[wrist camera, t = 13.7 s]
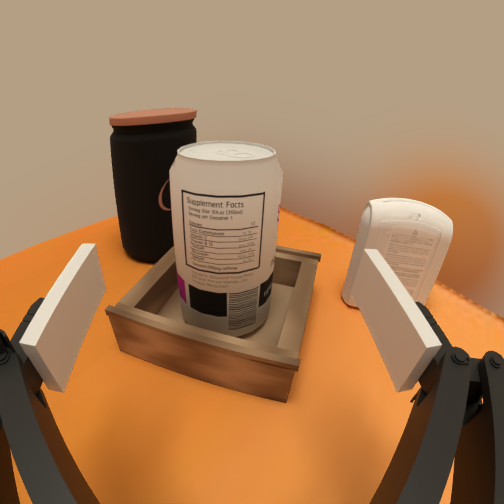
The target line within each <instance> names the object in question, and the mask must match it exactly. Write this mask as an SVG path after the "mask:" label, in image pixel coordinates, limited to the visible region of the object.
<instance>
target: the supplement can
mask: <svg viewBox="0 0 504 504" xmlns="http://www.w3.org/2000/svg"><path fill="white" fill-rule="evenodd" d="M275 154H276V153H275V150H274V149H272V148H270V147H268V146H265V145H261V144H256V143H250V142H240V141H208V142H199V143H193V144H189V145H186V146H183V147H181V148H179V149H178V150H177V156H176V158H175V160H174V162H173V164H172V166H171V168H170V170H169V174H170V194H171V210H172V225H173V237H174V249H175V259H176V269H177V279H178V288H179V296H180V305H181V311H182V316H183V318H184V319H185V320H186V322H187V323H188V324H189V325H192V326H195V327H199V328H203V329H206V330H210V331H213V332H217V333H221V334H225V335H229V336H232V337H238V336H241V335H244V334H247V333H250V332H252V331H254V330H255V329H256V328H258V327H259V326H260V325H262V324H263V323H264V321H265V319H266V318H267V316H268V314H269V307H270V298H271V289H272V280H273V271H274V261H275V252H276V242H277V232H278V222H279V212H280V201H281V190H282V179H283V174H282V169H281V167H280V165H279V163H278V160H277V158H276V156H275Z"/></svg>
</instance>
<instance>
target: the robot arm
mask: <svg viewBox="0 0 504 504" xmlns="http://www.w3.org/2000/svg"><path fill="white" fill-rule="evenodd" d="M105 291H106V286H105V283H104V279H103V274H102V270H101V266H100V262H99V257H98V253H97V248H96V244H82V245H81V246H80V248H79V249H78V250H77V252H76V253H75V254H74V256H73V257H72V259H71V260H70V261H69V263H68V264H67V266H66V267H65V269H64V270H63V272H62V273H61V275H60V276H59V277H58V279H57V280H56V282H55V284H54V285H53V287H52V288H51V290H50V291H49V293H48V294H47V296H46V298H39V299H38V300H37V301H36V302H35V303H33V304H32V305H31V307H30V309H29V310H28V312H27V315H25V317H24V318H23V322H21V323H20V325H19V327H18V328H17V330H16V332H15V334H14V335H13V337H12V339H11V341H10V340H9V338H8V337H7V335H6V333H5V332H4V331H3V330H1V329H0V504H20V501H19V497H18V493H17V488H16V483H15V478H14V472H13V466H12V459H11V452H12V455H13V457H14V460H15V463H16V465H17V468H18V471H19V473H20V476H21V478H22V480H23V483H24V485H25V487H26V490H27V492H28V494H29V496H30V498H31V500H32V502H33V504H100V503H99V501H98V500H97V498H96V497H95V495H94V494H93V492H92V490H91V489H90V487H89V486H88V484H87V482H86V481H85V479H84V477H83V476H82V474H81V472H80V470H79V469H78V467H77V465H76V463H75V461H74V459H73V457H72V456H71V454H70V452H69V450H68V448H67V446H66V444H65V442H64V440H63V438H62V436H61V433H60V431H59V429H58V427H57V425H56V422H55V420H54V418H53V415H52V413H51V411H50V408H49V406H48V403H47V401H46V398H45V396H44V393H43V391H42V390H41V388H40V387H41V384H42V382H44V383H45V384H46V386H47V387H48V389H50V390H54V391H58V392H63V393H64V392H65V389H66V386H67V383H68V380H69V377H70V374H71V372H72V369H73V366H74V364H75V361H76V358H77V356H78V353H79V351H80V348H81V346H82V343H83V341H84V338H85V336H86V334H87V331H88V329H89V326H90V324H91V322H92V319H93V317H94V315H95V313H96V310H97V308H98V306H99V304H100V301H101V299H102V297H103V295H104V293H105ZM351 293H352V295H353V297H354V299H355V302H356V304H357V306H358V308H359V310H360V312H361V314H362V316H363V318H364V320H365V322H366V324H367V326H368V328H369V330H370V333H371V335H372V337H373V339H374V341H375V343H376V346H377V348H378V350H379V352H380V354H381V357H382V359H383V361H384V363H385V365H386V368H387V370H388V372H389V375H390V377H391V379H392V382H393V384H394V386H395V389H396V391H397V392H402V391H406V390H411V389H412V388H413V387H414V386H415V384H416V383H417V381H419V383H420V385H421V388H420V389H419V390H418V392H417V393H416V394H415V395H414V397H413V398H412V399H411V401H410V402H413V401H414V400H415V402H414V405H413V408H412V411H411V413H410V416H409V419H408V422H407V424H406V427H405V429H404V432H403V434H402V437H401V439H400V442H399V444H398V447H397V449H396V451H395V453H394V456H393V458H392V460H391V462H390V465H389V467H388V469H387V471H386V473H385V475H384V477H383V479H382V481H381V483H380V485H379V487H378V489H377V491H376V493H375V495H374V496H373V498H372V500H371V502H370V504H439V502H440V500H441V497H442V494H443V491H444V489H445V486H446V483H447V480H448V477H449V474H450V470H451V467H452V464H453V460H454V474H453V485H452V494H451V502H450V504H504V359H503V357H502V356H501V355H500V354H499V353H497V352H494V351H488V352H486V353H485V355H484V356H483V358H482V359H476V358H470V356H469V355H468V354H467V353H466V352H465V351H464V350H463V349H461V348H458V347H452V345H451V344H450V342H449V341H448V339H447V337H446V336H445V334H444V333H443V331H442V330H441V328H440V327H439V325H437V322H436V321H435V319H434V318H433V316H432V315H431V313H430V312H429V310H428V309H427V308H426V307H425V306H424V305H423V304H421V303H420V302H414V300H413V299H412V297H411V296H410V295H409V293H408V292H407V290H406V289H405V287H404V286H403V284H402V283H401V282H400V280H399V279H398V277H397V276H396V275H395V273H394V272H393V270H392V269H391V268H390V266H389V265H388V264H387V262H386V261H385V259H384V258H383V257H382V255H381V254H380V253H379V251H378V250H377V249H364V250H363V254H362V257H361V261H360V264H359V268H358V271H357V275H356V278H355V281H354V285H353V288H352V291H351ZM482 398H483V404H482V400H481V399H482ZM10 449H11V452H10ZM454 456H455V459H454Z"/></svg>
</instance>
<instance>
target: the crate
mask: <svg viewBox="0 0 504 504" xmlns="http://www.w3.org/2000/svg"><path fill="white" fill-rule="evenodd" d="M320 258H321V254H319V253H313V252H308V251H303V250H297V249H292V248H287V247H281V246H276V252H275V261H274V271H273V280H272V289H271V298H270V307H269V314H268V316H267V318H266V319H265V321H264V323H263V324H262V325H260V326H259V327H258V328H256V329H255V330H254V331H252V332H250V333H247V334H244V335H241V336H238V337H232V336H229V335H225V334H221V333H217V332H213V331H210V330H206V329H203V328H199V327H195V326H192V325H189V324H188V323H187V322H186V320H185V319H184V318H183V316H182V311H181V305H180V296H179V288H178V279H177V269H176V259H175V249H174V246H173V247H172V248H171V249H170V250H169V251H168V252H167V253H166V254H165V255H164V256H163V257H162V258H161V259H160V260H159V261H158V262H157V263H156V264H155V265H154V266H153V267H152V268H151V269H150V270H149V271H148V272H147V273H146V274H145V275H144V276H143V277H142V278H141V279H140V280H139V281H138V282H137V283H136V284H135V286H134V287H133V288H132V289H131V290H130V291H129V292H128V293H127V294H126V295H125V296H124V297H123V298H122V299H121V300H120V301H119V302H118V303H117V305H116V306H115V307H113V306H110V305H109V306H108V307H107V308H106V309H105V311H106V315H108V316H109V319H110V322H111V325H112V328H113V331H114V334H115V337H116V340H117V343H118V345H119V348H120V351H123V352H125V353H128V354H130V355H132V356H135V357H137V358H140V359H143V360H145V361H148V362H150V363H153V364H156V365H158V366H161V367H164V368H166V369H169V370H172V371H175V372H178V373H181V374H184V375H187V376H190V377H193V378H196V379H199V380H202V381H205V382H208V383H212V384H215V385H218V386H222V387H225V388H229V389H232V390H236V391H240V392H243V393H247V394H251V395H255V396H259V397H263V398H267V399H271V400H276V401H280V402H285V403H286V401H287V397H288V394H289V390H290V386H291V383H292V379H293V375H294V371H298V368H299V364H300V360H301V359H298V355H299V351H300V346H301V342H302V338H303V333H304V329H305V324H306V319H307V315H308V310H309V305H310V300H311V295H312V290H313V285H314V280H315V275H316V269H317V264H318V262H320Z"/></svg>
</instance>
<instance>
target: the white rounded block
mask: <svg viewBox="0 0 504 504" xmlns="http://www.w3.org/2000/svg"><path fill="white" fill-rule="evenodd" d="M452 233H453V223H452V220H451V219H450V218H448V216H447V215H446V214H444V213H443V212H442V211H440V210H438V209H437V208H435V207H433V206H431V205H428V204H426V203H423V202H420V201H415V200H411V199H404V198H382V199H375V200H370V201H368V202H367V204H366V206H365V209H364V213H363V215H362V217H361V221H360V226H359V229H358V234H357V238H356V242H355V246H354V250H353V254H352V257H351V261H350V265H349V268H348V272H347V276H346V279H345V283H344V286H343V290H342V298H343V300H344V301H345V303H346V304H348V305H350V306H354V307H358V306H357V304H356V302H355V299H354V297H353V295H352V293H351V291H352V288H353V285H354V281H355V278H356V275H357V271H358V268H359V264H360V261H361V257H362V254H363V250H364V249H377V250H378V251H379V253H380V254H381V255H382V257H383V258H384V259H385V261H386V262H387V264H388V265H389V266H390V268H391V269H392V270H393V272H394V273H395V275H396V276H397V277H398V279H399V280H400V282H401V283H402V284H403V286H404V287H405V289H406V290H407V292H408V293H409V295H410V296H411V297H412V299H413V300H414V302H420V303H421V304H423V305H425V303H426V301H427V299H428V297H429V294H430V292H431V290H432V288H433V285H434V283H435V281H436V278H437V276H438V273H439V271H440V268H441V266H442V263H443V261H444V258H445V256H446V253H447V251H448V248H449V245H450V243H451V239H452Z"/></svg>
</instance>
